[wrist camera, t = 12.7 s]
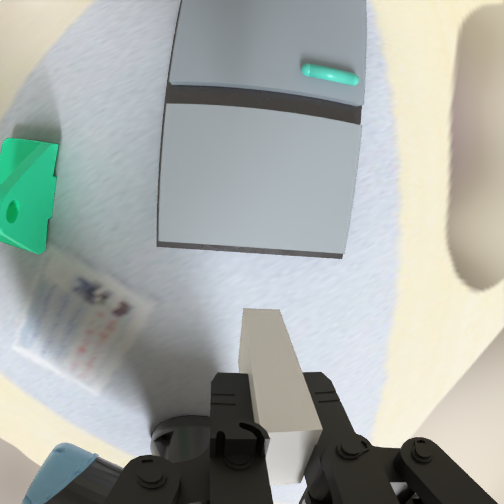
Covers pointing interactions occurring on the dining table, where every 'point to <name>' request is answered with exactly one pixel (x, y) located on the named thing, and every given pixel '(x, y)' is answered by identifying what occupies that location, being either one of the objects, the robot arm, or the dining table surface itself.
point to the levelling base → (259, 101)
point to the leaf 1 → (274, 47)
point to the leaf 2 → (257, 178)
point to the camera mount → (26, 192)
